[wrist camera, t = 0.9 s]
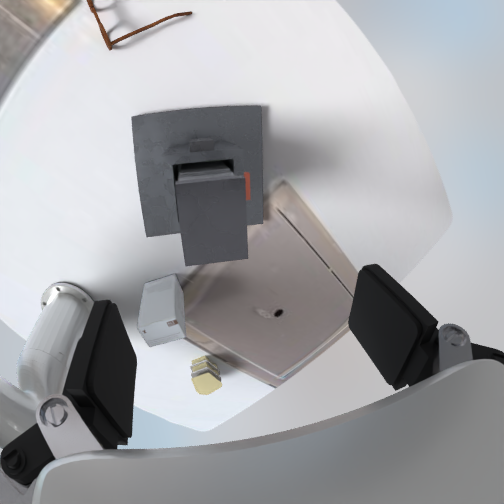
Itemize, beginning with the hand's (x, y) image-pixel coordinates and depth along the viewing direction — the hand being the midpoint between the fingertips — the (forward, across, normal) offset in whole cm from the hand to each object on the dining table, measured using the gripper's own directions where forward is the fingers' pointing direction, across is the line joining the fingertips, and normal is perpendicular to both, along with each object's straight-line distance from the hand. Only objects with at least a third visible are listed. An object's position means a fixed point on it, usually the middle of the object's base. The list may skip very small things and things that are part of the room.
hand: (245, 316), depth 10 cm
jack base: (+33, 0, 0) cm, 33 cm away
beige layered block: (+34, +4, +41) cm, 53 cm away
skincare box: (+33, +8, +19) cm, 39 cm away
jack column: (+31, 0, 0) cm, 31 cm away
